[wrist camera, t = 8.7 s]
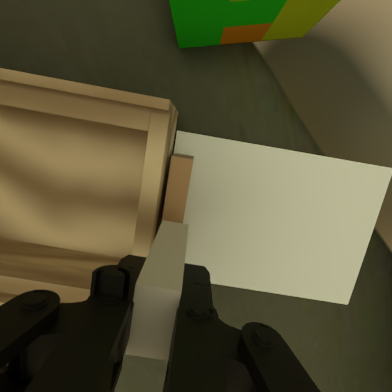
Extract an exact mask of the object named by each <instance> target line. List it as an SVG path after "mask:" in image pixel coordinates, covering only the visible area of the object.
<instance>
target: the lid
mask: <svg viewBox="0 0 392 392" xmlns="http://www.w3.org/2000/svg"><path fill="white" fill-rule="evenodd" d="M391 176H392V168H388V167H382V166H376V165H370V164H364V163H359V162H353V161H348V160H342V159H336V158H330V157H325V156H319V155H314V154H308V153H302V152H297V151H291V150H285V149H279V148H274V147H268V146H262V145H257V144H251V143H245V142H240V141H234V140H228V139H222V138H217V137H211V136H205V135H200V134H194V133H188V132H183V131H177V134H176V141H175V147H174V154H173V155H172V156H171V163H170V170H169V177H168V183H167V190H166V197H165V203H164V210H163V217H162V221H163V220H165V221H171V222H176V223H182V224H188V235H187V245H186V254H185V263H188V264H194V265H200V266H205V267H206V269H207V270H208V271H209V273H210V281H211V283H212V284H219V285H225V286H231V287H238V288H244V289H251V290H257V291H263V292H270V293H276V294H283V295H289V296H296V297H302V298H308V299H315V300H321V301H328V302H334V303H340V304H347V305H348V303H349V300H350V297H351V294H352V291H353V288H354V285H355V282H356V279H357V276H358V273H359V270H360V267H361V264H362V261H363V258H364V255H365V252H366V249H367V246H368V244H369V241H370V238H371V235H372V232H373V229H374V226H375V223H376V220H377V217H378V214H379V211H380V208H381V205H382V202H383V199H384V196H385V193H386V190H387V187H388V184H389V181H390V178H391Z"/></svg>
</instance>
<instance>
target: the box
mask: <svg viewBox="0 0 392 392" xmlns="http://www.w3.org/2000/svg"><path fill="white" fill-rule="evenodd" d="M177 118H178V111H177V109H176V108H175V106H174V105H173V104H172V102H171V101H170V100H169V99H163V98H158V97H153V96H147V95H142V94H137V93H131V92H126V91H121V90H115V89H110V88H105V87H99V86H94V85H88V84H83V83H78V82H72V81H67V80H62V79H56V78H51V77H46V76H40V75H35V74H30V73H24V72H19V71H14V70H8V69H3V68H0V306H1V305H2V304H4V303H6V302H7V301H9V300H11V299H12V298H14V297H16V296H18V295H20V294H22V293H24V292H28V291H32V290H40V289H41V290H42V289H45V290H50V291H54V292H55V293H57V294H58V295H59V297H60V303H74V302H82V301H85V300H87V299H88V297H89V296H90V289H91V279H92V272H93V271H94V270H95V269H96V268H99V267H101V266H105V265H118V263H119V261H120V260H121V259H122V258H124V257H125V256H127V255H135V256H141V257H147V256H148V254H149V251H150V249H151V247H152V244H153V242H154V239H155V237H156V235H157V232H158V230H159V228H160V225H161V221H162V214H163V208H164V201H165V195H166V188H167V182H168V176H169V169H170V163H171V156H172V150H173V144H174V137H175V131H176V124H177Z"/></svg>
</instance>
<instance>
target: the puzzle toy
mask: <svg viewBox="0 0 392 392" xmlns="http://www.w3.org/2000/svg"><path fill="white" fill-rule="evenodd" d="M339 1H340V0H169V3H170V7H171V12H172V17H173V22H174V27H175V32H176V37H177V42H178V47H179V48H188V47H199V46H210V45H221V44H232V43H243V42H257V41H268V40H279V39H290V38H301V37H303V36H304V35H305V34H306V33H307V32H308V31H309V30H310V29H311V28H312V27H313V26H314V25H315V24H316V23H317V22H319V21H320V20H321V19H322V18H323V17H324V16H325V15H326V14H327V13H328V12H329V11H330V10H331V9H332V8H333V7H334V6H335V5H336V4H337V3H338V2H339Z"/></svg>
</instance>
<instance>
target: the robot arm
mask: <svg viewBox="0 0 392 392" xmlns="http://www.w3.org/2000/svg"><path fill="white" fill-rule="evenodd" d="M187 235H188V224H182V223H176V222H171V221H165V220H163V221H162V223H161V225H160V228H159V230H158V232H157V235H156V237H155V239H154V242H153V244H152V247H151V249H150V251H149V254H148V256H147V257H141V256H135V255H127V256H125V257H124V258H122V259H121V260H120V261H119V263H118V265H105V266H101V267H99V268H96V269H95V270H94V271H93V272H92V279H91V289H90V296H89V297H88V299H87V300H85V301H82V302H74V303H60V297H59V295H58V294H57V293H55V292H54V291H50V290H45V289H42V290H41V289H40V290H32V291H28V292H24V293H22V294H20V295H18V296H16V297H14V298H12V299H11V300H9V301H7V302H6V303H4V304H2V305H1V306H0V392H114V390H115V387H116V384H117V381H118V378H119V375H120V372H121V369H122V362H123V355H124V352H125V349H126V354H128V355H134V356H141V357H147V358H154V359H160V360H167V361H168V365H167V371H166V376H165V381H164V387H163V392H320V390H319V389H318V388H317V386H316V385H315V383H314V382H313V380H312V379H311V378H310V376H309V375H308V373H307V372H306V370H305V369H304V368H303V366H302V365H301V363H300V362H299V360H298V359H297V358H296V356H295V355H294V353H293V352H292V351H291V349H290V348H289V346H288V345H287V343H286V342H285V341H284V339H283V338H282V337H281V335H280V334H279V333H278V332H277V331H276V330H274V329H273V328H271V327H270V326H267V325H265V324H262V323H257V322H251V323H247V324H245V325H244V326H243V327H242V330H239V329H236V328H234V327H231V326H229V325H227V324H225V323H224V322H223V321H221V320H220V319H219V318H218V314H217V311H216V309H215V308H214V307H213V303H212V292H211V281H210V273H209V271H208V270H207V269H206V267H205V266H200V265H194V264H188V263H185V254H186V245H187ZM126 346H127V348H126Z"/></svg>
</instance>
